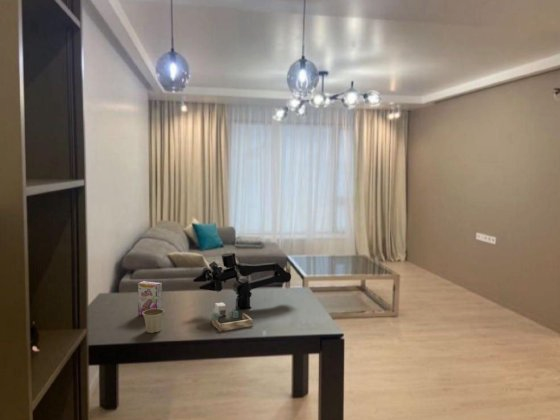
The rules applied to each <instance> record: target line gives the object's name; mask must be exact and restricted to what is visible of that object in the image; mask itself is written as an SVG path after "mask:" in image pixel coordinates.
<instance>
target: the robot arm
mask: <svg viewBox="0 0 560 420" xmlns="http://www.w3.org/2000/svg"><path fill="white" fill-rule="evenodd" d="M221 260H222V266H223V267H225V268H224V269H223V267H222V266H221V265H218V263H217V262H215V261H212V262H211V263H209V264H208V266H209V267H210V268H209V267H208V266H207V267H204V268H203V269H202V272H201V273H200V274H199V275H198V276H196V277H195V278H193V281H192V282H193V283H194V282H195V283H204V284H202V285H200V286H199V287H198V289H199V290H204V291H206V290H207V291H213V292H217V293H219V292H222V290H223V285H222V284H223V283H224V284H226V283H227V281H231V280H234V281H235V282H234V283H233V285H232V290H233V292H235V294H236V298H235V307H236V308H237V309H239V310H246V309H252V306H251V297H252V295H253V294H252V292H251V291H252V290H255V289H257V288H261V287H265V286H269V285H272V284H275V283H276V284H278V283H280V284H285V283H289V282H291V279H292V274H291V273H290V272H289V271H286V270H285V269H284V268H283V267H281V266H280V264H279V263H277V262H274V261H272V262H266V263H255V264H250V263H242V262H241V263H238V262H237V261H236V260H237V259H236V253H235V252H228V253H224V254H221ZM271 271H272V272H273V274H271V275H268V276H264V277H261V278H256V279H252V280H248V279H246V278H242V279H240V276H242V277H248V276H250V275H252V274H255V273H261V272H263V273H264V272H271ZM239 275H240V276H239ZM207 281H208V282H207ZM205 282H206V283H205Z"/></svg>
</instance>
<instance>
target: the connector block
mask: <svg viewBox="0 0 560 420" xmlns="http://www.w3.org/2000/svg"><path fill="white" fill-rule="evenodd" d="M216 313H217V314H218V317H224V316H223V315H225V316H227V304H225V303H224V302H215V303H214V314H216Z"/></svg>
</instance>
